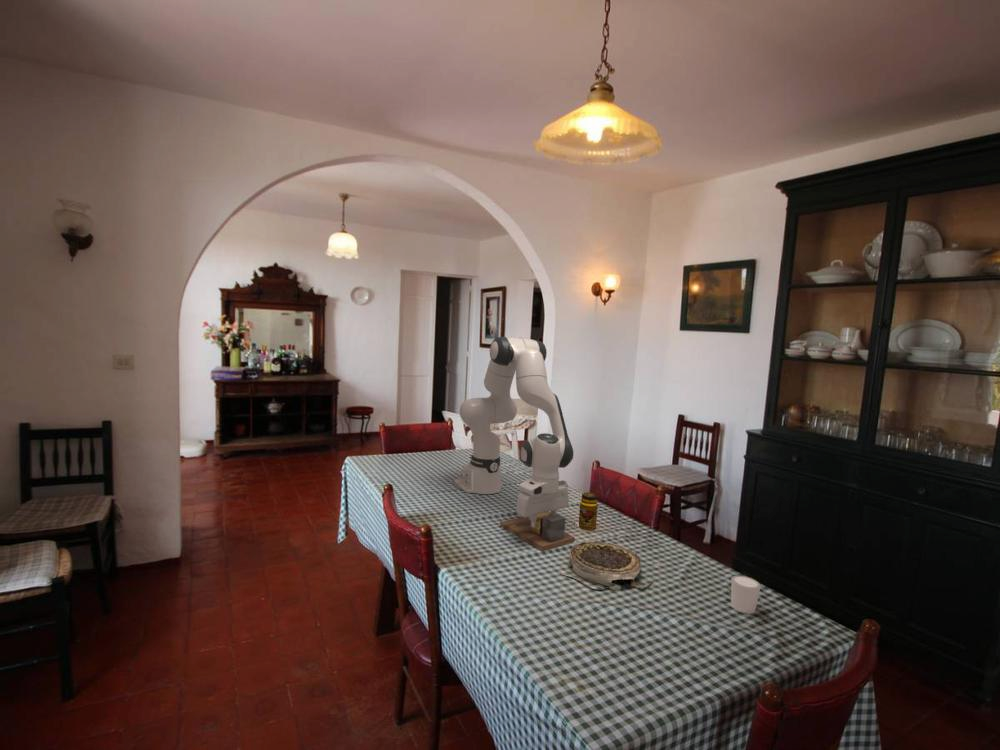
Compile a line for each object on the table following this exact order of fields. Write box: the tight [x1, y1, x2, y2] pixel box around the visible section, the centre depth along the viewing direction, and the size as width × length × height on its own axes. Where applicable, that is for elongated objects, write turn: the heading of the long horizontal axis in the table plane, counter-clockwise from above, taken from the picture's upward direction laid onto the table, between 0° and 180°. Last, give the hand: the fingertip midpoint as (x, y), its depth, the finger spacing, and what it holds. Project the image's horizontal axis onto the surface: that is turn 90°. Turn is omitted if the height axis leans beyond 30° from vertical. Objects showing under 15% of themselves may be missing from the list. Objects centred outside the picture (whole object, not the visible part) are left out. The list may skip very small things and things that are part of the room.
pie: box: [557, 541, 654, 591], centre depth 147 cm, size 28×27×5 cm
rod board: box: [499, 509, 576, 552], centre depth 169 cm, size 22×14×8 cm, turn 37°
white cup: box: [730, 575, 762, 615], centre depth 130 cm, size 7×7×7 cm
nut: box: [532, 512, 551, 535], centre depth 167 cm, size 4×6×6 cm
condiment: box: [572, 492, 601, 533], centre depth 177 cm, size 7×8×12 cm
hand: (542, 524), depth 167 cm, fingers closed on nut, 6 cm apart
